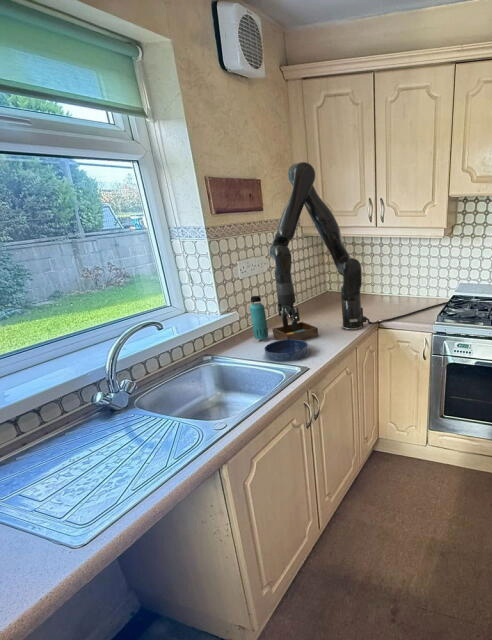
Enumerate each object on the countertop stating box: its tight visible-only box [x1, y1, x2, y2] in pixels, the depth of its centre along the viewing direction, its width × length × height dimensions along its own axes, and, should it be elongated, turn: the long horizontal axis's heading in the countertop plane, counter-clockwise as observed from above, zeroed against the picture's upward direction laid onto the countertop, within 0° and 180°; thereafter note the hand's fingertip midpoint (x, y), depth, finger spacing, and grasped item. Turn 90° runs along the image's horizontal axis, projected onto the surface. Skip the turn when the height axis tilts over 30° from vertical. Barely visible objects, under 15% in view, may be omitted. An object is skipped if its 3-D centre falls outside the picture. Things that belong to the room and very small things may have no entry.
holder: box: [272, 321, 319, 341], centre depth 186 cm, size 16×14×5 cm
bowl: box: [264, 339, 310, 363], centre depth 166 cm, size 17×17×4 cm
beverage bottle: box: [249, 295, 269, 340], centre depth 180 cm, size 6×7×20 cm
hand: (290, 328), depth 183 cm, fingers open, 8 cm apart
